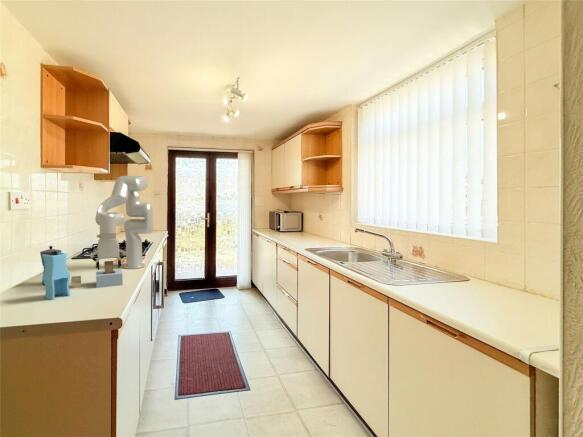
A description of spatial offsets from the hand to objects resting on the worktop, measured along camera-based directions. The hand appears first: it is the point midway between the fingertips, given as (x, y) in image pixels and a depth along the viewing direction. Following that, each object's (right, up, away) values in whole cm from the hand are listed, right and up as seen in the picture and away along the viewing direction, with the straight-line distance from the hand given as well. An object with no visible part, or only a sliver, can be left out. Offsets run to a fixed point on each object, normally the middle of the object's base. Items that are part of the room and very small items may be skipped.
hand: (108, 268), depth 182 cm
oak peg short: (-14, -9, -5) cm, 17 cm away
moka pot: (-30, -8, 0) cm, 31 cm away
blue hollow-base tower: (-12, -10, -23) cm, 27 cm away
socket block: (0, -8, +1) cm, 8 cm away
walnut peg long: (0, -8, +1) cm, 8 cm away
